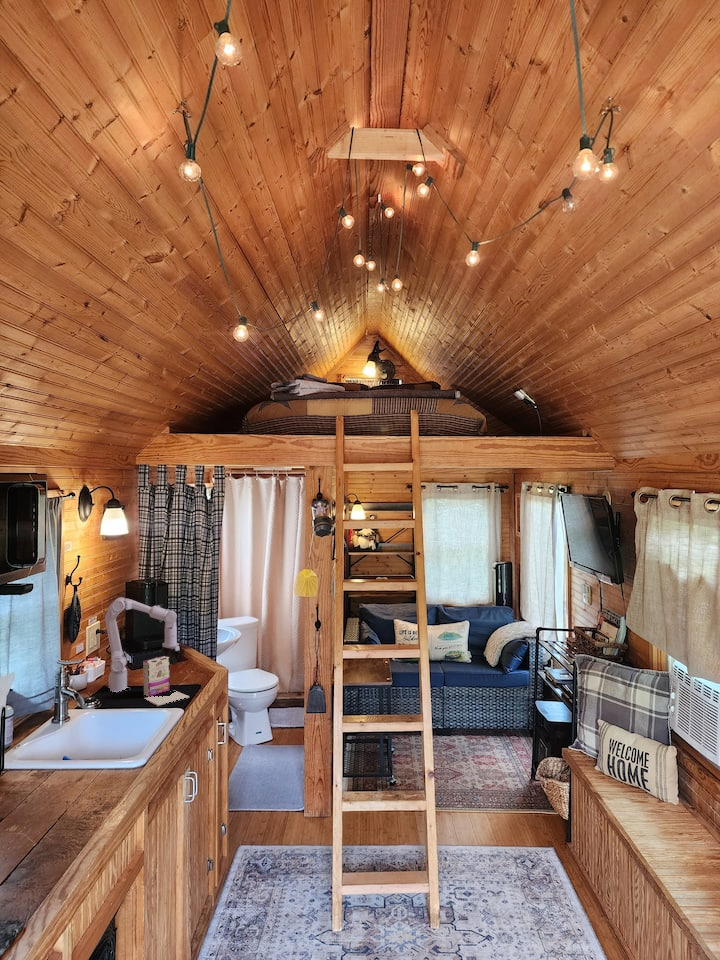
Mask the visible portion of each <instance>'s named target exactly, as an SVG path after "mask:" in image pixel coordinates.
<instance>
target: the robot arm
mask: <svg viewBox="0 0 720 960" xmlns="http://www.w3.org/2000/svg"><path fill="white" fill-rule="evenodd" d="M124 610H125V611H128V610H136V611H139V612H143V613H146V614H149V617H150V618H151V619H152V618H153V619H155V620H158V621H164V622H165V623H164V642H162V648H161V649H160V651H161V652H162V654H163V656H166V657H169V663H171V665H172V666H175V665H177V663H178V659H179V656H180V653H181V651H182V650H181V649H180V643H178V640H177V638H178V636H177V635H178V634H177V633H178V632H177V631H178V626H177V618H178V615H177V613H176V611H174V610H170V609H169V608H167V609H166V608H163V607H161V605H159V604H158V605H153V606H149V605H147V604H144V603H141V602H138V601H136V600H134V599H130V598H127V597H123V596H120V597H117V598H116V599H115V600H113V601H112V602H111V603H110V605H109V606H108V609H107V610H106V613H105V615H104V622H105V626H106V632H107V637H108V642H109V647H110V653H111V656H110V657H111V659H110V660H111V662H110V669H111V671H110V672H109V675H108V688H110V691H109V692H111V691H112V692H111V693H113V692H116V693H120V692H123V691H122V690H125V689H126V688H130V687H128V669H127V667H126V666H127V664H128V658H127V656H125V653H124V651H123V649H122V643H121V639H120V633H119V627H118V623H117V617H118V616H119V614H120V613H122V611H124ZM119 691H120V692H119ZM125 691H126V690H125Z"/></svg>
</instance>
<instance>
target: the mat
mask: <svg viewBox="0 0 720 960" xmlns="http://www.w3.org/2000/svg"><path fill="white" fill-rule="evenodd" d="M175 691H176V692H174V693H172V694H171V695H170V696H163V697H162V696H159V697H158V696H155V697H154V696H151V697H144V698H143V700H144V699H146V700H147V702H148V701H149V703H151V704H153V705H155V706H156V707H159V706H162V705H167V704H170V703H169V702H171V703H174V702H177V701H176V700H178V701H181V700H180V699H182V700H185V699H184V698H186V699H189V698H190V695H186V694H184V693H182V692H180V691H177V690H175ZM146 700H145V701H146ZM173 701H174V702H173ZM166 703H167V704H166Z"/></svg>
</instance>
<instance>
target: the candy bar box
mask: <svg viewBox="0 0 720 960" xmlns="http://www.w3.org/2000/svg"><path fill="white" fill-rule="evenodd" d="M142 662H143V663H142V665H143V666H142V668H143V696H144V695H146V696H148V697H150V696H153V695H156V694H159V693H162V692H166V691H169V690H170V691H171V687H170V686H171V679H170V678H171V676H170V662H169V657H166V656H164V655H163V656H159V657H154V658H151V659H147V660H143V661H142Z"/></svg>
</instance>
